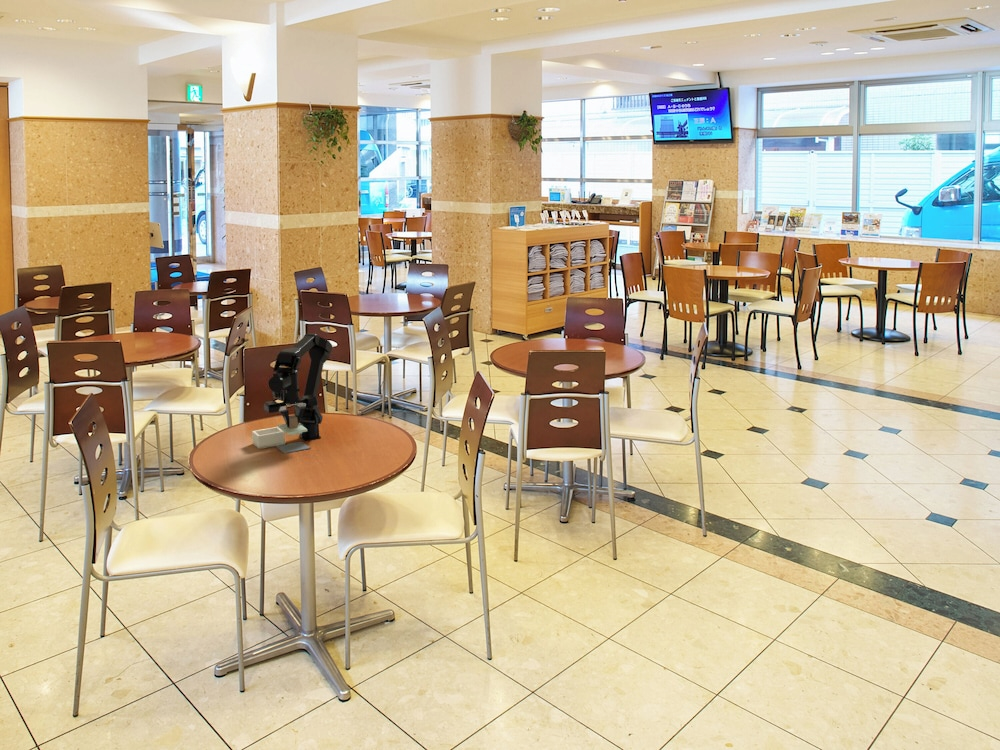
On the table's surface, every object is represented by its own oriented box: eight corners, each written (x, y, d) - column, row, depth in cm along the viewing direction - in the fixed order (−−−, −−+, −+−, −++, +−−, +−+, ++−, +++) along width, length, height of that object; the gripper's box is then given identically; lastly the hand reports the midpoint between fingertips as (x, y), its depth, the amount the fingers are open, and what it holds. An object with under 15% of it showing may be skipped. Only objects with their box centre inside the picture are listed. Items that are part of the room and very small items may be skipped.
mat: (301, 442, 329) (301, 441, 328) (310, 448, 322) (310, 447, 322) (276, 447, 323) (275, 446, 323) (284, 453, 316) (284, 452, 316)
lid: (307, 433, 319) (306, 418, 317) (288, 437, 315) (287, 422, 313) (297, 426, 327) (296, 411, 325) (278, 429, 323) (277, 414, 321)
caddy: (278, 439, 332) (277, 426, 331) (285, 444, 326) (284, 431, 325) (252, 443, 327) (252, 431, 325) (259, 449, 321) (258, 436, 320)
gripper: (306, 376, 328) (308, 416, 332) (257, 383, 318) (260, 424, 322) (317, 383, 319) (319, 424, 323) (267, 390, 309) (270, 432, 313)
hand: (292, 426), depth 320 cm, fingers closed on lid, 3 cm apart
